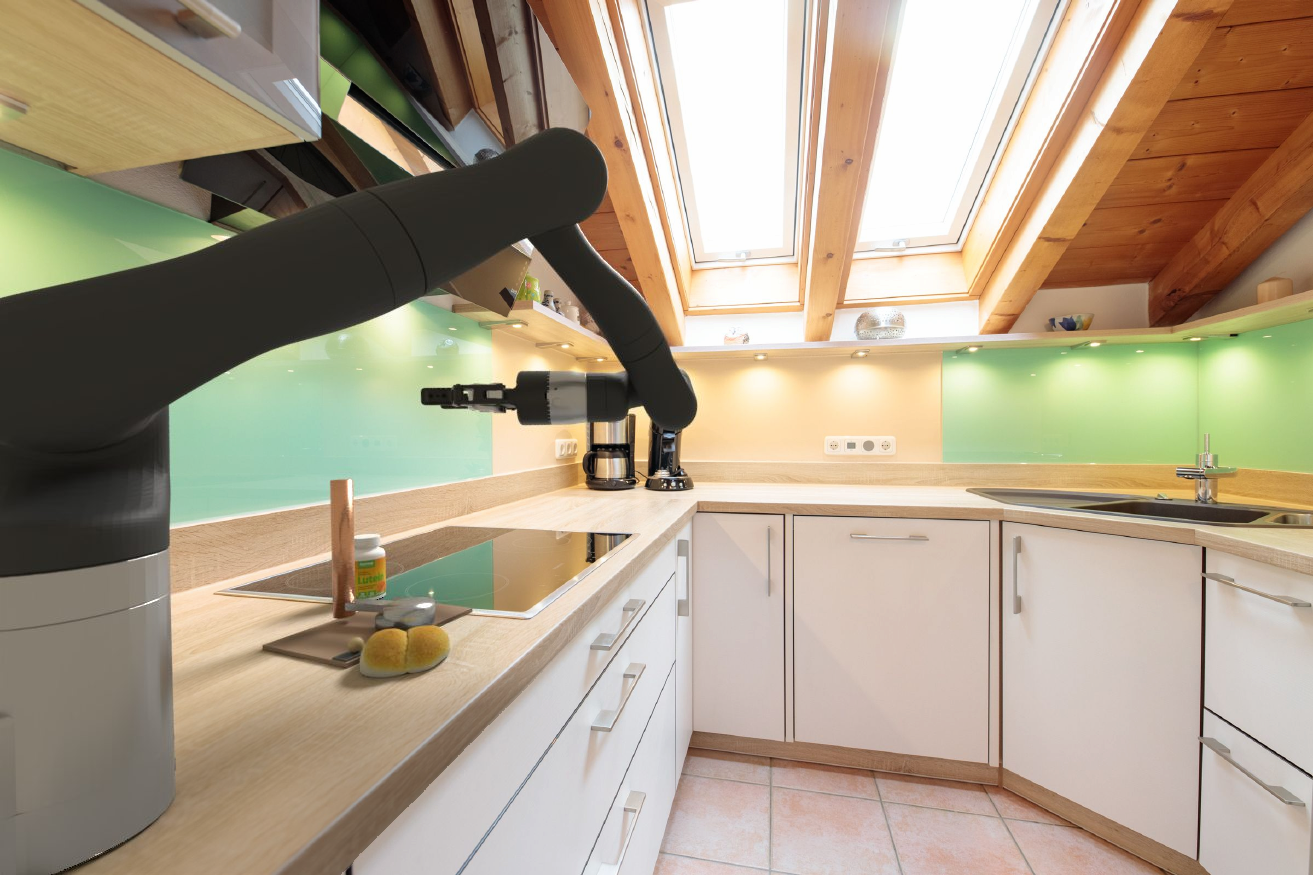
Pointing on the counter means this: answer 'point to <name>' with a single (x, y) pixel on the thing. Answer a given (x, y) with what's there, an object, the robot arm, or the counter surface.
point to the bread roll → (403, 651)
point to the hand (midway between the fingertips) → (431, 399)
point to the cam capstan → (343, 573)
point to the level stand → (346, 637)
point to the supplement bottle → (369, 567)
